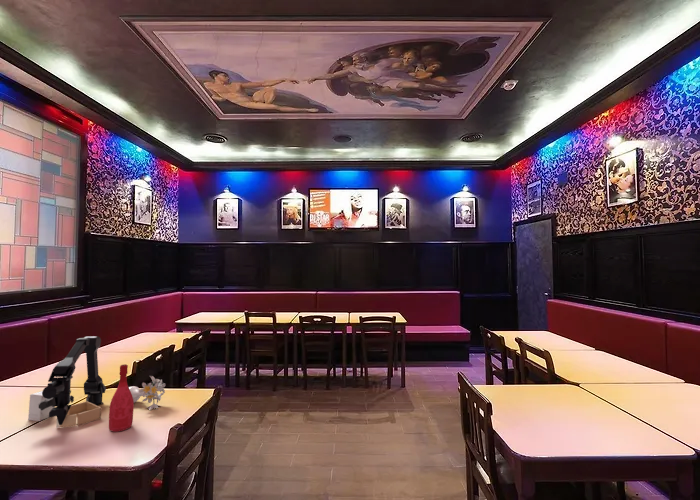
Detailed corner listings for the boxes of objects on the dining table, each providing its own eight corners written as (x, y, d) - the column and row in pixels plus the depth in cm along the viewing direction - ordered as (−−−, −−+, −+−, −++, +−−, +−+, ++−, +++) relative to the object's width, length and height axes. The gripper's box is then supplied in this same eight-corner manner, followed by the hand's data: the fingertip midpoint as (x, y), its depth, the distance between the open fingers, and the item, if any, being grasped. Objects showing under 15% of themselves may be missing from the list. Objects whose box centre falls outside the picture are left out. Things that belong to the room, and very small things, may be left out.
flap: (57, 426, 169) (57, 415, 169) (75, 425, 171) (76, 414, 171) (56, 427, 168) (56, 416, 169) (74, 426, 170) (75, 415, 171)
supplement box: (39, 421, 176) (41, 395, 176) (27, 420, 177) (29, 394, 178) (54, 415, 183) (56, 390, 184) (43, 414, 184) (44, 389, 185)
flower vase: (123, 417, 197) (154, 413, 188) (113, 386, 197) (143, 380, 188) (144, 405, 209) (173, 400, 200) (134, 376, 209) (164, 369, 200)
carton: (86, 411, 188) (87, 401, 189) (100, 418, 180) (101, 407, 180) (63, 418, 180) (64, 407, 180) (77, 425, 171) (78, 414, 172)
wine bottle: (106, 434, 163) (110, 368, 165) (109, 426, 171) (113, 363, 173) (131, 430, 167) (134, 366, 169) (133, 422, 176) (136, 361, 178)
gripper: (46, 387, 174) (44, 419, 173) (35, 400, 157) (33, 436, 157) (74, 383, 179) (73, 414, 178) (66, 396, 163) (65, 430, 162)
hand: (61, 423), depth 169 cm, fingers closed
